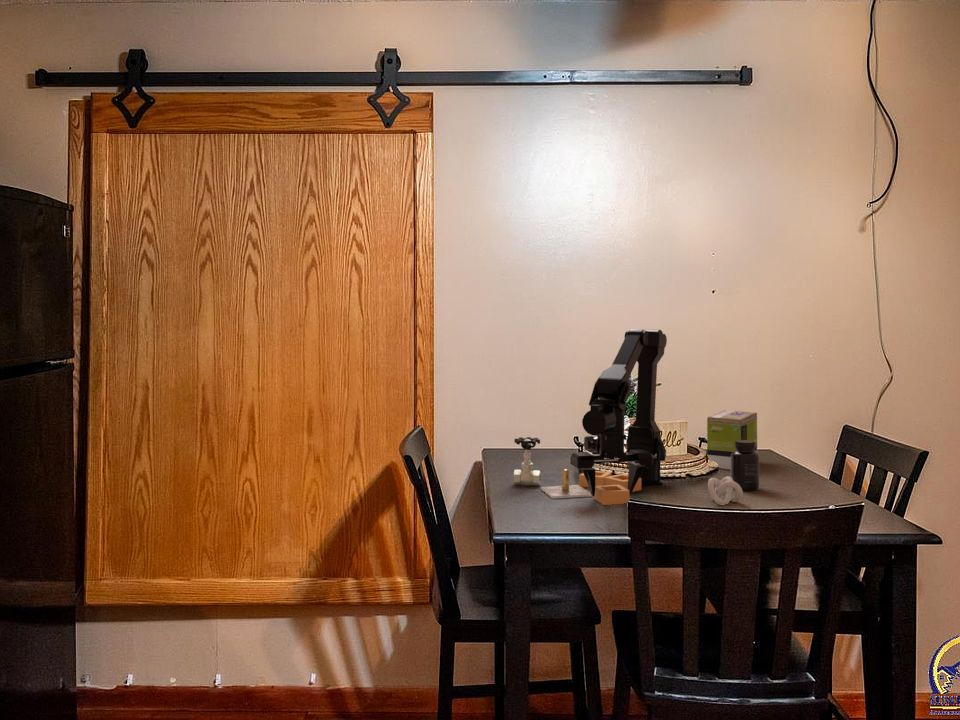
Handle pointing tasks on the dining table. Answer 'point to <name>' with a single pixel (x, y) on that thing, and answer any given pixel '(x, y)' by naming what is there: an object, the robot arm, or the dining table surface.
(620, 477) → the chain link
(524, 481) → the valve
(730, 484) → the knot
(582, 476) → the chain link
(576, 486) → the plate with brass peg
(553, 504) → the dining table surface
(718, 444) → the tea box
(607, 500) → the end link
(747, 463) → the supplement bottle
